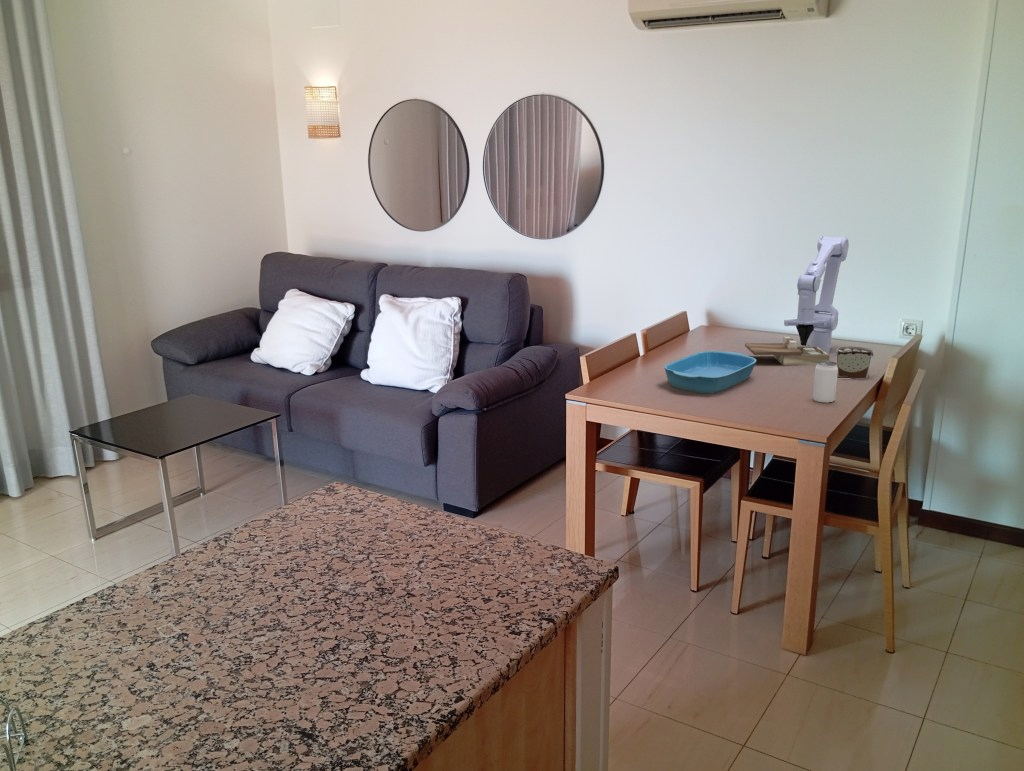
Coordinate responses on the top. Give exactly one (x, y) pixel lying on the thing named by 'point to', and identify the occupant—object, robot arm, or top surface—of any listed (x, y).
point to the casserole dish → (709, 371)
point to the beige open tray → (803, 358)
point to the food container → (853, 361)
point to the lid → (775, 348)
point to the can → (825, 381)
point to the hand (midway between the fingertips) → (803, 345)
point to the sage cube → (812, 353)
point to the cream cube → (808, 350)
